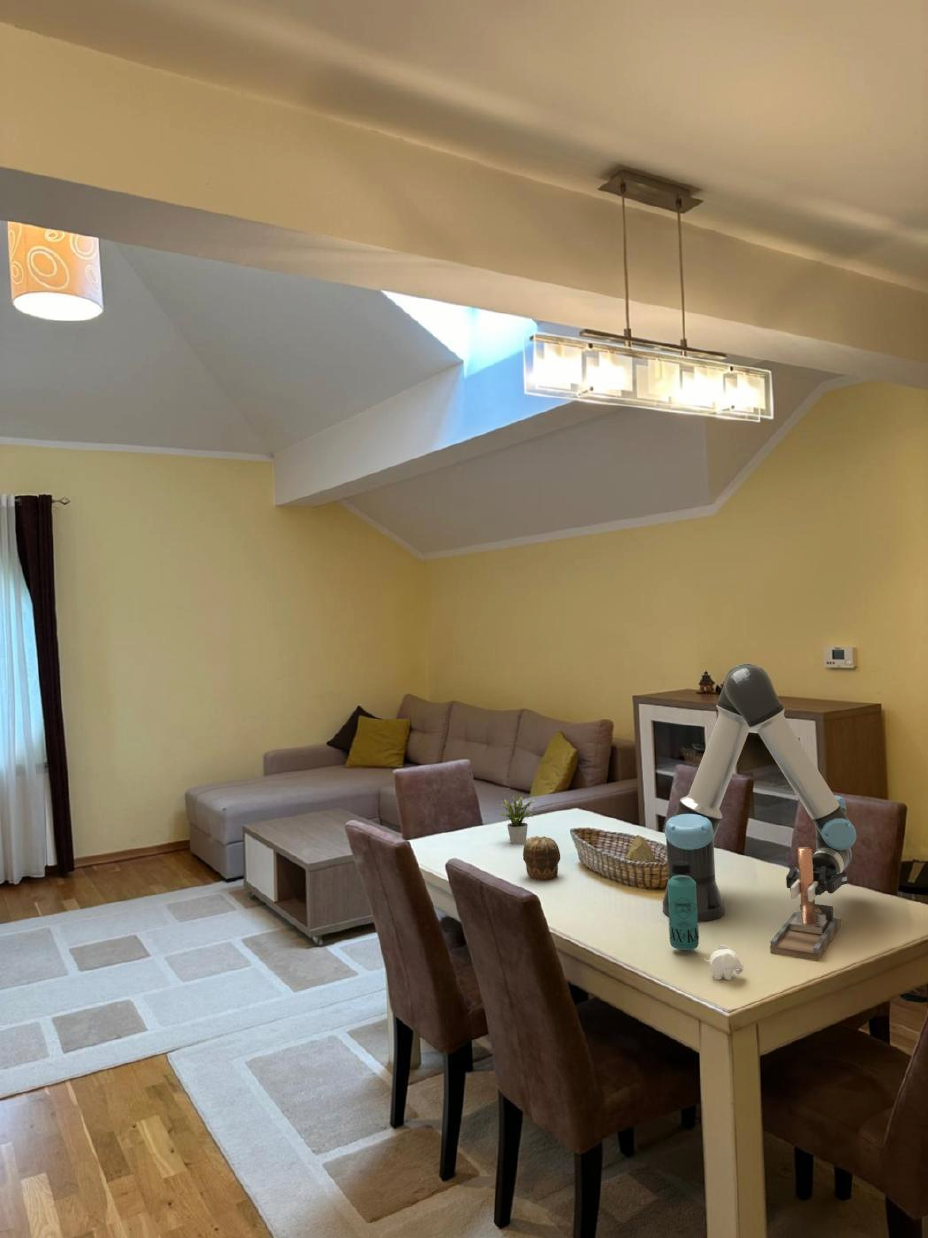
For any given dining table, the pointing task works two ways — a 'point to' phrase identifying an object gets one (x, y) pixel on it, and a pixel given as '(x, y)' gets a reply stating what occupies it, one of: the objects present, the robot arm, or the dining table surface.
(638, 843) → the rock
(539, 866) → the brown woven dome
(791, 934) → the nutcracker base
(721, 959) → the elephant figurine
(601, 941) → the dining table surface
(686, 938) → the beverage bottle
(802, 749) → the robot arm
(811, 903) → the copper post
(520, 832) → the house plant
